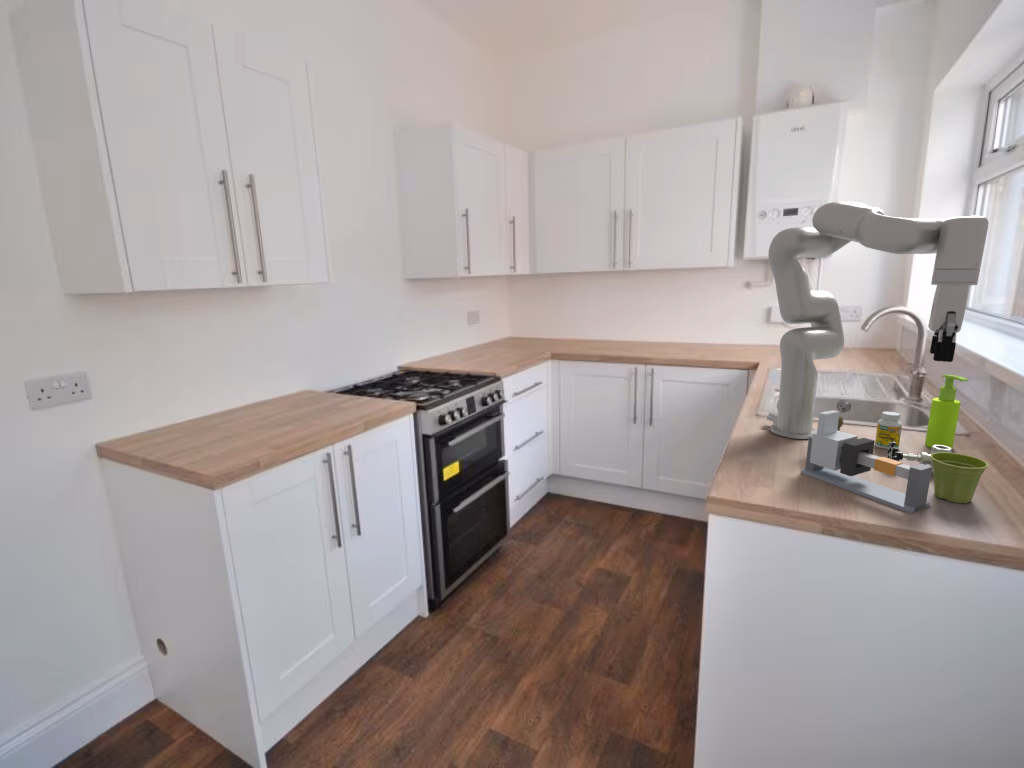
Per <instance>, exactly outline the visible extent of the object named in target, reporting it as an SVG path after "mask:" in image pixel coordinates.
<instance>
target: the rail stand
mask: <svg viewBox="0 0 1024 768" xmlns="http://www.w3.org/2000/svg"><path fill="white" fill-rule="evenodd" d="M812 438H813V436H810V437H809V439H807V440H808V441H807V442H808V443H807V449H806V450H807V451H806V457H805V458H806V461H805V468H801V470H800V473H801V474H803V475H806V476H808V477H811V478H814V479H817V480H820V481H822V482H825V483H827V484H831V485H833V486H836V487H839V488H841V489H843V490H847V491H849V492H851V493H855V494H857V495H861V496H863V497H865V498H869V499H870V500H874V501H875V502H879V503H881V504H883V505H886V506H890V507H892V508H894V509H898V510H900V511H903V512H905V513H908V514H912V513H915V512H917V511H919V510H923V509H925V508H929V507H930V506H931V505H930V504H931V502H930V501H928V496H929V495H928V494H929V490H930V489H929V488H930V482H931V478H932V477H931V476H932V473H931V472H932V466H929V464H926V465H925V464H920V463H918V464H915V465H911V466H910V465H907V464H905V463H903V462H902V461H896V460H892V459H889V458H887V457H885V456H879V455H874V454H873V455H872V454H868V453H865V452H861V451H859V452H858V458H857V463H858V464H861V465H864V466H867V467H870V468H871V469H873V470H874V471H877V472H879V473H882V474H885V475H889V476H891V477H895V476H896V477H899V478H902V479H905V480H907V483H906V490H905V493H904V492H902V491H899V490H895V489H892V488H890V487H887V486H884V485H880V484H878V483H876V482H872V481H869V480H866V479H864V478H861V477H858V476H856V475H854V476H848V475H845V474H842V473H840V470H836V471H833V470H830V469H828V468H825V467H822V466H819V465H816V464H813V463H810V456H811V447H812ZM842 453H843V446H842V449H841V457H840V458H842Z"/></svg>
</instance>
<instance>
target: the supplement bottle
mask: <svg viewBox="0 0 1024 768" xmlns="http://www.w3.org/2000/svg"><path fill="white" fill-rule="evenodd" d="M900 419H901V414H900V413H898V412H895V411H882V412H881V418H880V419H879V420H878V421H877V426H876V434H875V440H874V441H875V443H874V446H876V447H877V448H880V449H883V450H887V449H889V446H888V444H889V443H891V442H896V445H894V447H895V448H897V449H898V450H899V448H900V441H901V435H902V429H903V424H902V422H901V421H900Z"/></svg>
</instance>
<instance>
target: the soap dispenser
mask: <svg viewBox="0 0 1024 768" xmlns="http://www.w3.org/2000/svg"><path fill="white" fill-rule="evenodd" d="M942 378H945V382H944V385H942V386H940V387H939V393H938V397H933V398H932V399H931V405H930V411H929V416H928V417H929V418H928V423H927V429H926V436H925V441H924V445H925V446H926V447H928V448H932V446H933V445H943V446H947V447H950V448H951V449H952V450H953V447H954V443H955V437H956V432H957V431H956V430H957V425H958V419H959V413H960V407H961V403H962V401H960V400H958V399H956V396H957V390H958V389H957V387H955V386H954V383H955V380H957V381H960V382H967V381H969V379H968V378H966V377H963V376H961V375H954V374H942Z"/></svg>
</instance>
